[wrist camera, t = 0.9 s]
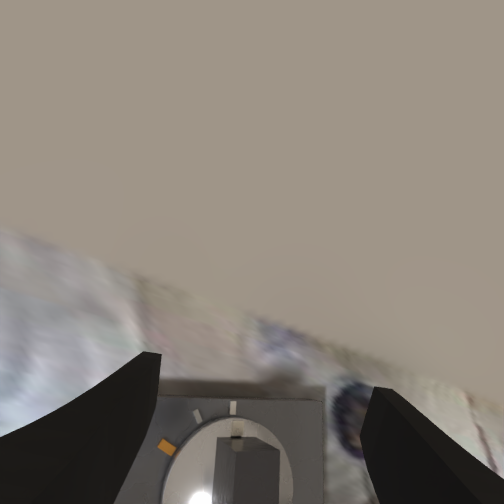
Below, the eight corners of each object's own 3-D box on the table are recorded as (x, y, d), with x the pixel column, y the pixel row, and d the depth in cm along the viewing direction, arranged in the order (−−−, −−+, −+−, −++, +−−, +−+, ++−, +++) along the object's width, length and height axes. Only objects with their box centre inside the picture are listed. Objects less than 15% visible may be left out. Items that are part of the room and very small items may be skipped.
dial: (285, 563, 20) (326, 613, 16) (149, 584, 17) (159, 651, 13) (287, 416, 22) (324, 428, 18) (170, 416, 20) (184, 429, 16)
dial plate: (311, 561, 22) (326, 575, 20) (85, 597, 17) (82, 620, 16) (311, 399, 25) (323, 401, 24) (121, 394, 21) (121, 396, 19)
